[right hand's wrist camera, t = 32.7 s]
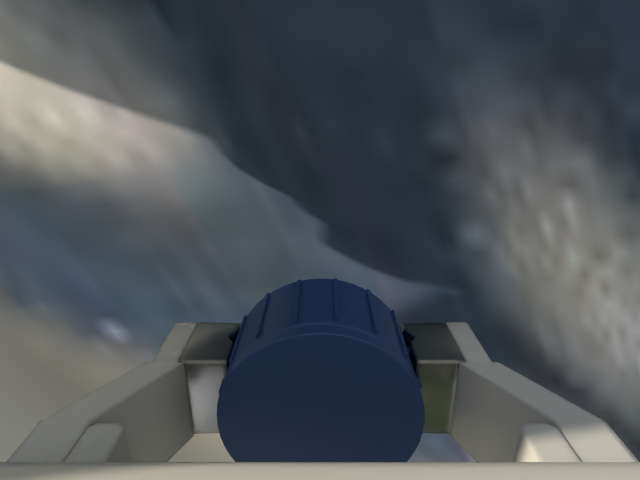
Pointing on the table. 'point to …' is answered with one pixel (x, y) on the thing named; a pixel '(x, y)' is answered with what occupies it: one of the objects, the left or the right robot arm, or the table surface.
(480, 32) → the table surface
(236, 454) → the cap
